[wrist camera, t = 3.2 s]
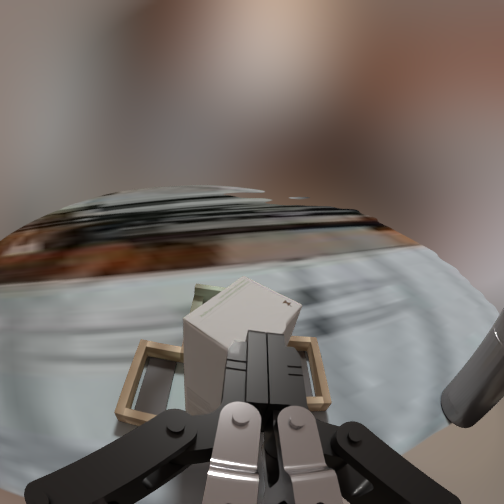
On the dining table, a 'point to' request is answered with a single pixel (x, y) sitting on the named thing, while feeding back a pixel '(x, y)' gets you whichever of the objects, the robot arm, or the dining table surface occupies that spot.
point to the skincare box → (228, 336)
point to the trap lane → (162, 371)
